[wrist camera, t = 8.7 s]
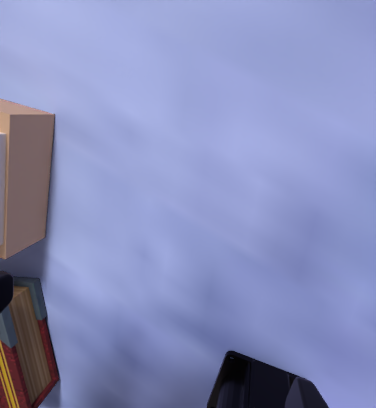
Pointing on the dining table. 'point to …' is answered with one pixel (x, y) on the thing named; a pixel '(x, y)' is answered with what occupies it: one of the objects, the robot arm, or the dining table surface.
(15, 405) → the decorative book
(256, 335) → the dining table surface
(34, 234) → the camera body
